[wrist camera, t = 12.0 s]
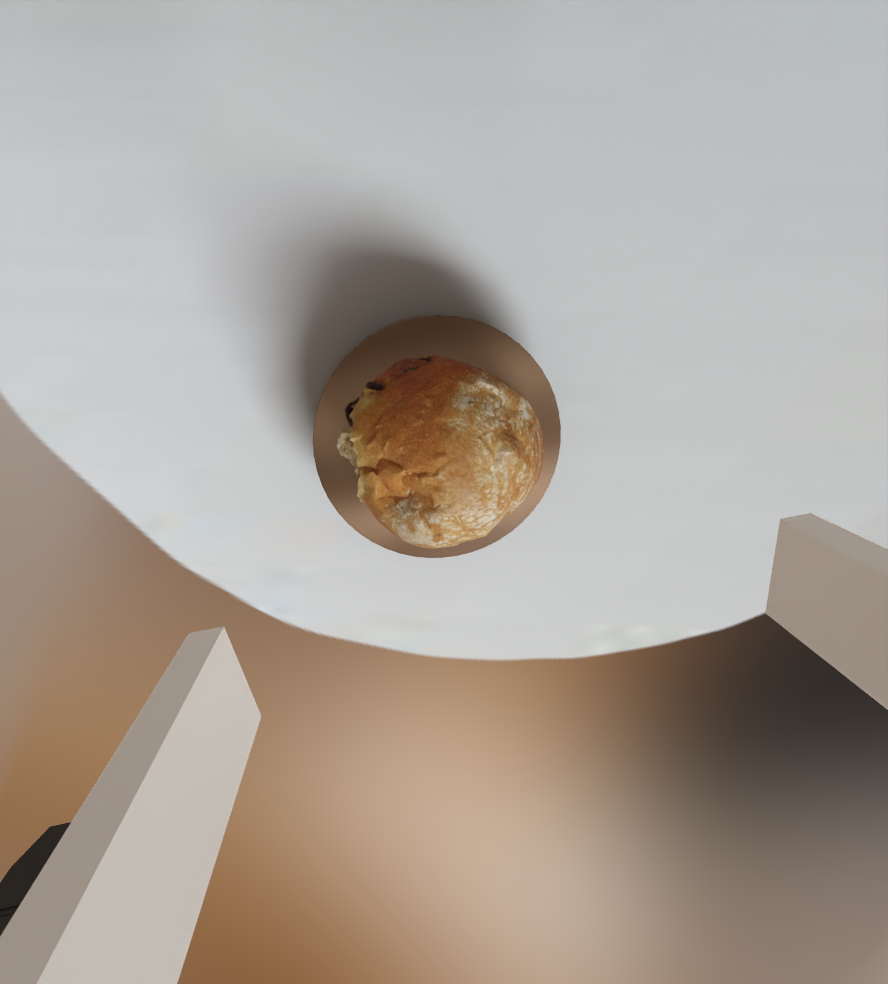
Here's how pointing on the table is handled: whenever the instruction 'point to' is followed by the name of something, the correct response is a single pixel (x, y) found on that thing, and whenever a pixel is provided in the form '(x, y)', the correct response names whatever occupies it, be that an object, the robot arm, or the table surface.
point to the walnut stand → (415, 341)
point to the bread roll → (441, 450)
